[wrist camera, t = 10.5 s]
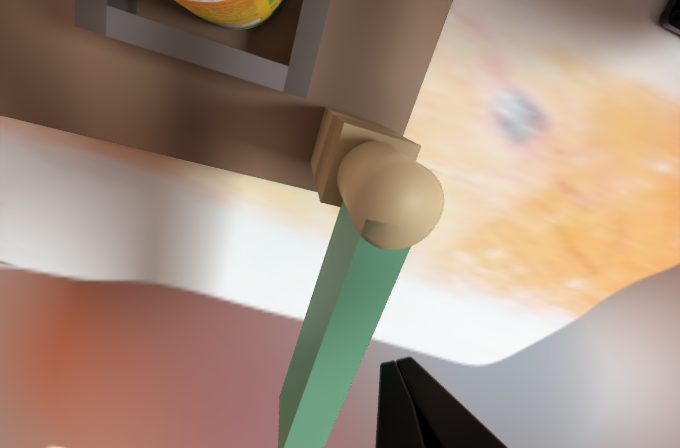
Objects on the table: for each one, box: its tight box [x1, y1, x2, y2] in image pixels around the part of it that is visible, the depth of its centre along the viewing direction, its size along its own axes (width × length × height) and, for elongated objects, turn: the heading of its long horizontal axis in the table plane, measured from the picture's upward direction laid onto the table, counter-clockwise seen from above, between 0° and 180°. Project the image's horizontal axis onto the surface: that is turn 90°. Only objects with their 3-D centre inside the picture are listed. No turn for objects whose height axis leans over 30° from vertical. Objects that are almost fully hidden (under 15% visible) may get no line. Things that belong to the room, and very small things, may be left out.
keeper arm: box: [278, 141, 444, 448], centre depth 12 cm, size 13×3×3 cm, turn 163°
